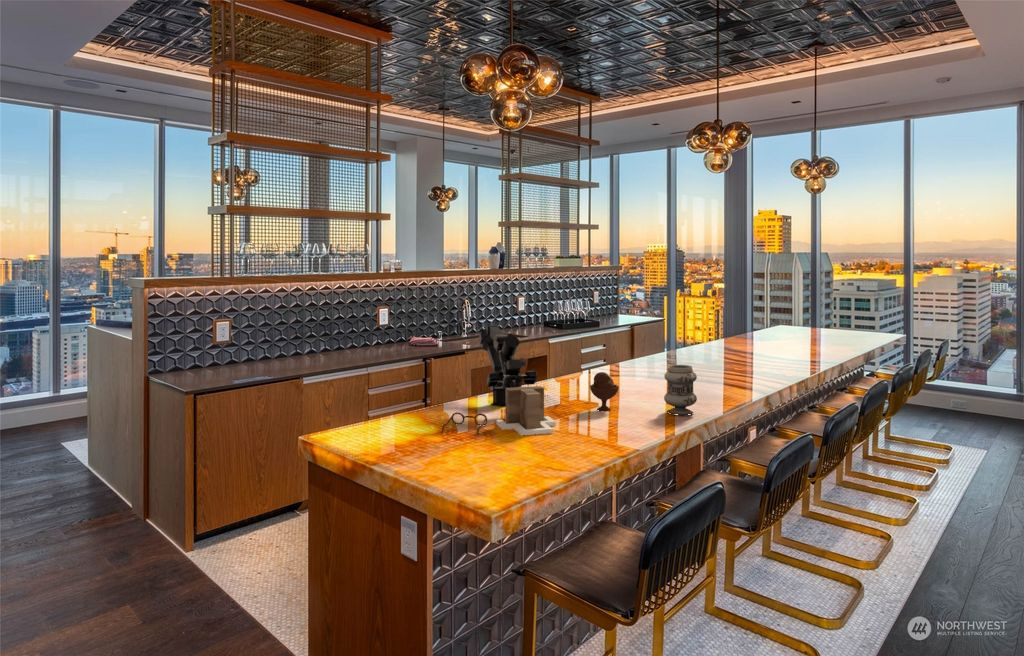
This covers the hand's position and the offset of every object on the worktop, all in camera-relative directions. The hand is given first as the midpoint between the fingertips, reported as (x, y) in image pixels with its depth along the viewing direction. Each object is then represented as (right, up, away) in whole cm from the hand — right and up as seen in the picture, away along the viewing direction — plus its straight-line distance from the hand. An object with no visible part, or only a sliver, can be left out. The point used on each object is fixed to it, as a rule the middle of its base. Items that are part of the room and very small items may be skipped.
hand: (516, 397), depth 241 cm
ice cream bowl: (+34, -6, +11) cm, 36 cm away
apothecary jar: (+62, -7, +6) cm, 62 cm away
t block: (+4, -9, -14) cm, 17 cm away
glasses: (-18, -10, -17) cm, 26 cm away
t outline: (+4, -9, -15) cm, 18 cm away
